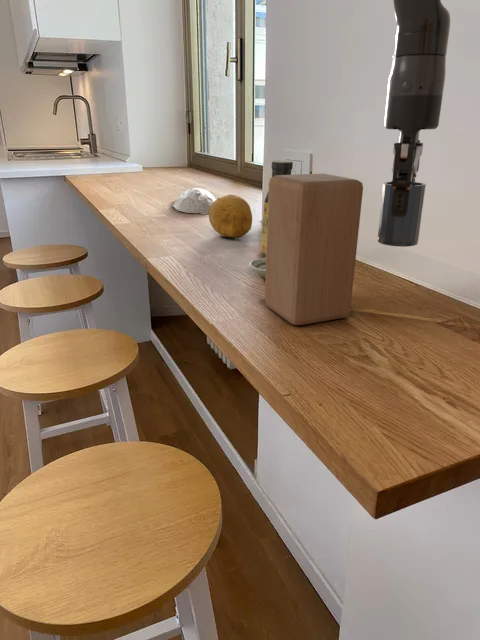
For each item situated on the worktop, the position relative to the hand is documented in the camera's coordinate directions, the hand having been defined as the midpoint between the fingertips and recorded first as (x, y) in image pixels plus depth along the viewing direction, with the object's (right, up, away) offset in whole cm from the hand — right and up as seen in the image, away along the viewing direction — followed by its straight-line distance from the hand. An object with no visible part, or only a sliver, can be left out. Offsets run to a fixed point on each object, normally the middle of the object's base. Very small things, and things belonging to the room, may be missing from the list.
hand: (400, 212), depth 76 cm
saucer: (-18, -9, +17) cm, 26 cm away
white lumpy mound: (-39, +20, +85) cm, 96 cm away
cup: (0, -4, +2) cm, 5 cm away
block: (-15, -16, 0) cm, 22 cm away
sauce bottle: (-17, -4, +27) cm, 32 cm away
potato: (-27, +4, +47) cm, 55 cm away
